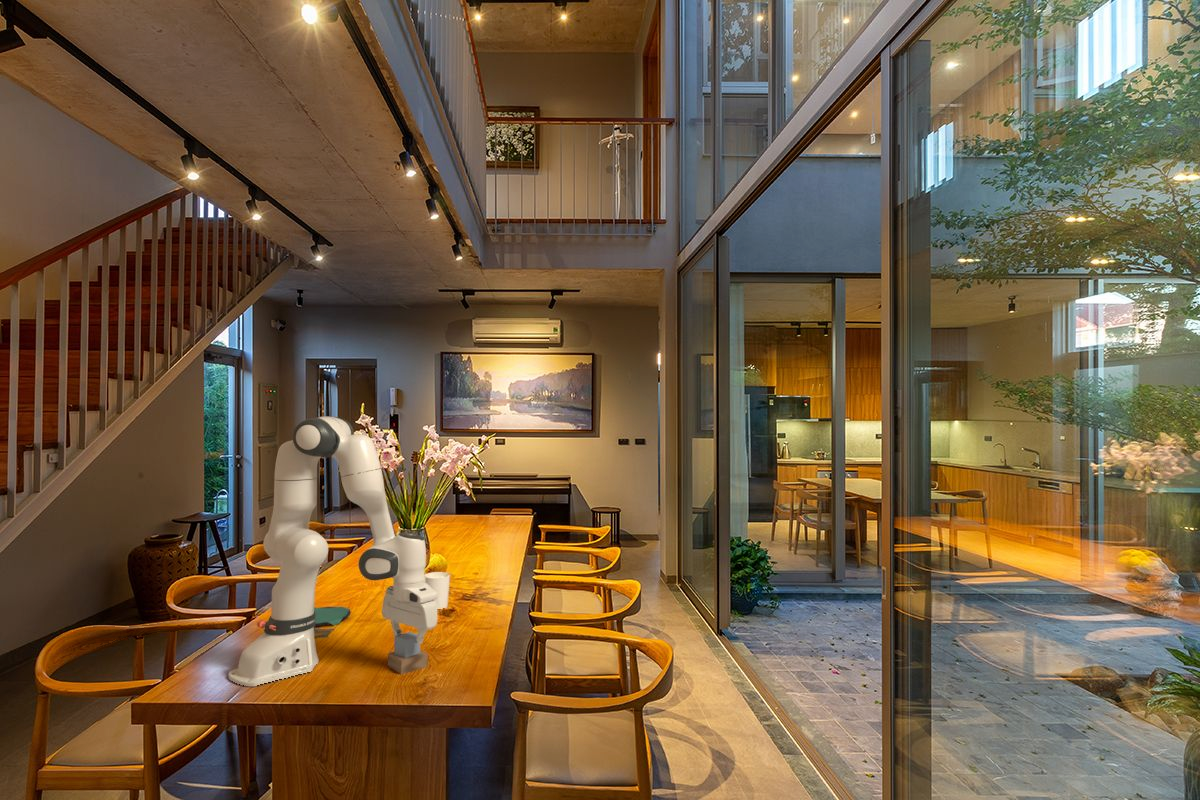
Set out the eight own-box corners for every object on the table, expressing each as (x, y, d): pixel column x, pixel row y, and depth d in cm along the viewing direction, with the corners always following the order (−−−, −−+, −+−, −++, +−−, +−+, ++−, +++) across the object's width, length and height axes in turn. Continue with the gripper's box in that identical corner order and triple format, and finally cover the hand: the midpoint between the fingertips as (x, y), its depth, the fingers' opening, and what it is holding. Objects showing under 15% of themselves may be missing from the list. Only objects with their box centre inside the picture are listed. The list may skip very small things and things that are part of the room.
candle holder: (418, 606, 236) (419, 574, 237) (442, 601, 243) (442, 570, 243) (430, 612, 229) (431, 579, 229) (454, 607, 235) (455, 575, 236)
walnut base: (401, 675, 172) (401, 660, 172) (387, 667, 177) (388, 653, 178) (427, 668, 177) (427, 653, 178) (413, 660, 183) (414, 646, 183)
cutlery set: (356, 610, 230) (357, 604, 230) (333, 639, 200) (333, 632, 200) (300, 613, 227) (300, 606, 227) (267, 642, 198) (267, 635, 198)
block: (405, 657, 174) (405, 639, 174) (394, 654, 177) (394, 636, 177) (419, 652, 178) (420, 635, 178) (408, 649, 181) (409, 631, 181)
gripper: (377, 586, 182) (375, 635, 181) (423, 598, 170) (422, 650, 169) (395, 582, 187) (394, 629, 186) (441, 593, 175) (440, 643, 175)
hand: (408, 639), depth 178 cm, fingers open, 8 cm apart
